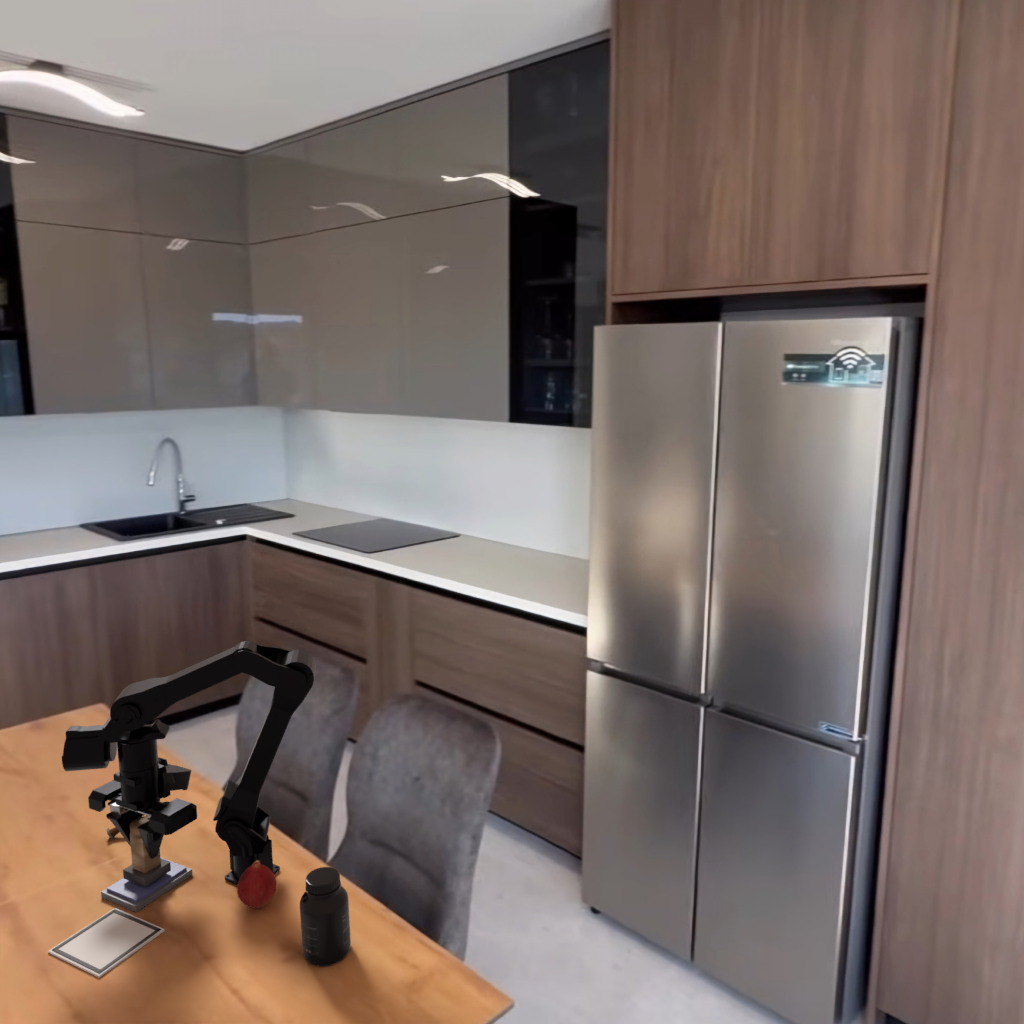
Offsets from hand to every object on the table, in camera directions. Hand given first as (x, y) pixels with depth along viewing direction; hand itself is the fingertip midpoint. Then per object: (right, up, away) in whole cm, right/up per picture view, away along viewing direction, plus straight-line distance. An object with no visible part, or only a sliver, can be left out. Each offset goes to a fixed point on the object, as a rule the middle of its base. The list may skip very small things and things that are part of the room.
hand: (146, 854), depth 134 cm
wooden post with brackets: (-10, -3, +17) cm, 20 cm away
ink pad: (0, -6, +1) cm, 6 cm away
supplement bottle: (+32, -8, -14) cm, 36 cm away
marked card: (0, -8, -12) cm, 15 cm away
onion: (+19, -7, -5) cm, 21 cm away
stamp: (0, -4, +1) cm, 4 cm away
